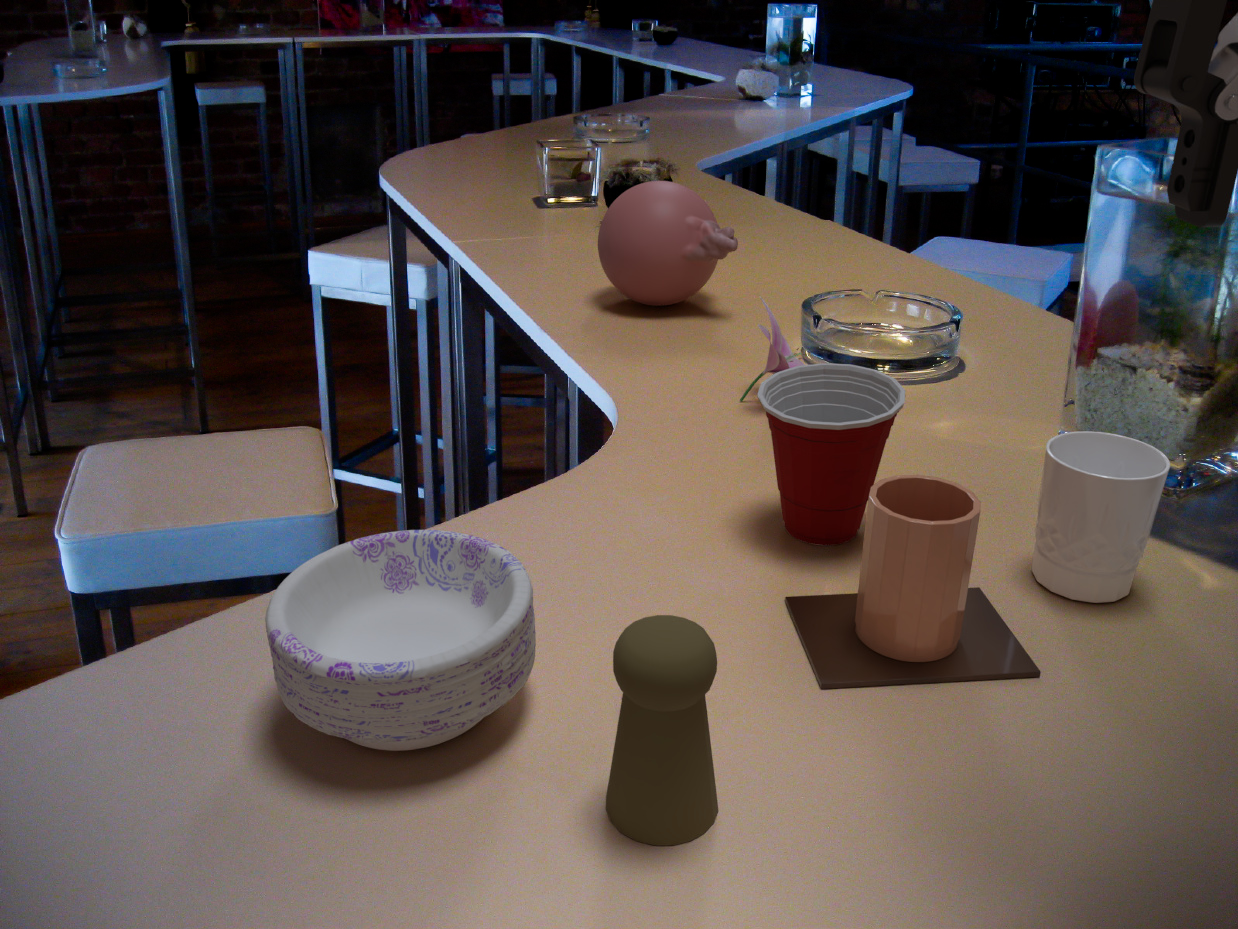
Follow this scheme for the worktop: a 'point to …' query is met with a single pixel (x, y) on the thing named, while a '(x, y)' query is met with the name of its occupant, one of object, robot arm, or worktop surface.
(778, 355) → the lily
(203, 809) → the worktop surface
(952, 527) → the peach cup
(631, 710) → the olive peg doll
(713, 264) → the balloon
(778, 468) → the plastic cup
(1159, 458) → the white cup
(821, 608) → the walnut mat
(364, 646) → the paper bowls
